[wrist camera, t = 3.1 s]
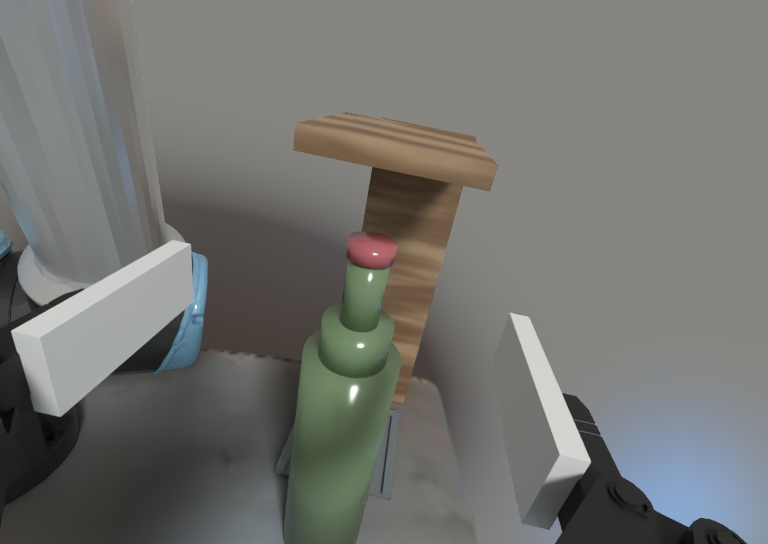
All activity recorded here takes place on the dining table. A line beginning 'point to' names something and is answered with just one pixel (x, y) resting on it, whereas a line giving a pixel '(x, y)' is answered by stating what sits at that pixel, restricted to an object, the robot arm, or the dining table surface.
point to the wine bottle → (343, 402)
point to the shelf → (405, 204)
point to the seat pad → (384, 464)
